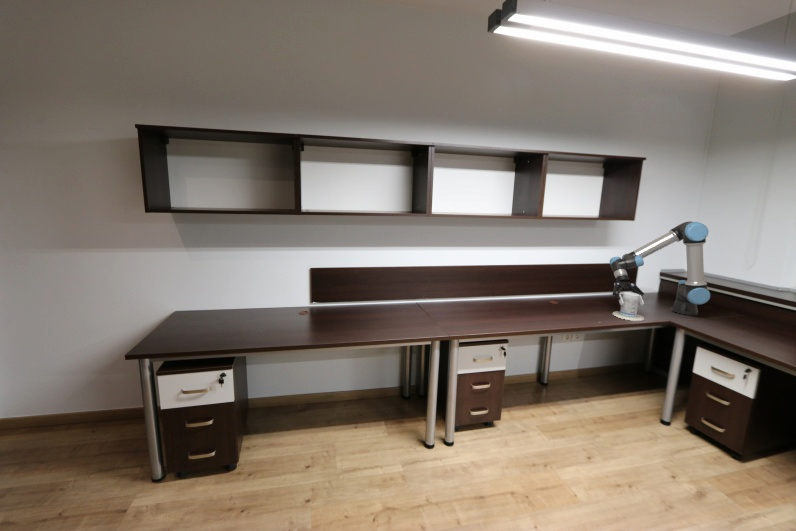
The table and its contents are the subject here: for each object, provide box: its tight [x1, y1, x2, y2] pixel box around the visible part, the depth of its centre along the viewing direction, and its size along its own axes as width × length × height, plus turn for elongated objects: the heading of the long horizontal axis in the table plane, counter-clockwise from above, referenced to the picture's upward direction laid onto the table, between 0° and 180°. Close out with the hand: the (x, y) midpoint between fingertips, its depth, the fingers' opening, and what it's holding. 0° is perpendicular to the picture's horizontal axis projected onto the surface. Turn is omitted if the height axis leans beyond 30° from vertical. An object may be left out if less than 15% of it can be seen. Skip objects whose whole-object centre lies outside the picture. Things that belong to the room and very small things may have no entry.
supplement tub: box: [619, 291, 640, 317], centre depth 246 cm, size 10×10×15 cm
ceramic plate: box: [612, 310, 645, 322], centre depth 247 cm, size 18×18×1 cm
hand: (632, 304), depth 243 cm, fingers open, 13 cm apart
